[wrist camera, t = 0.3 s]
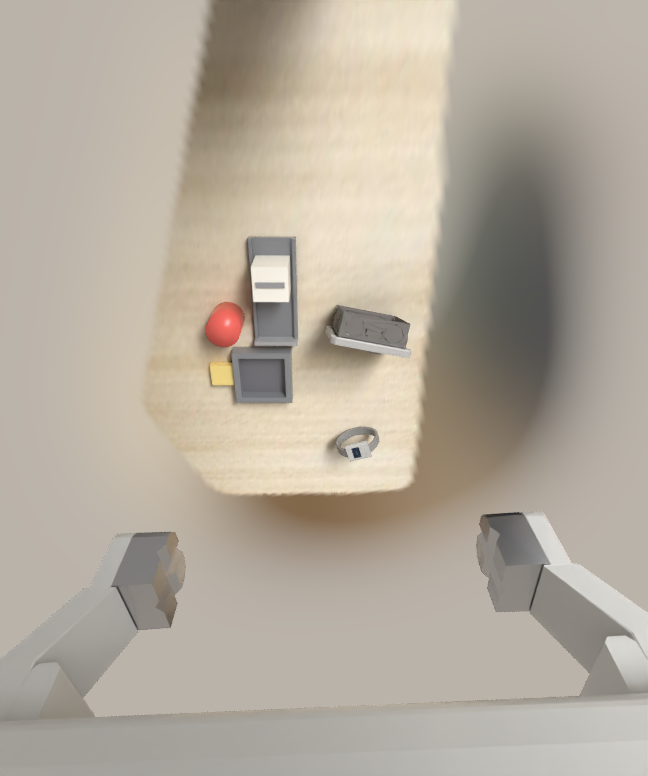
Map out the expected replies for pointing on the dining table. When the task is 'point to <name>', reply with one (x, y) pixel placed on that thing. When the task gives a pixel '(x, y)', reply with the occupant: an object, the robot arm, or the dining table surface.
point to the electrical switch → (369, 332)
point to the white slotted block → (271, 278)
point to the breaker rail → (275, 318)
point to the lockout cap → (225, 324)
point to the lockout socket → (257, 374)
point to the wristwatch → (360, 448)
